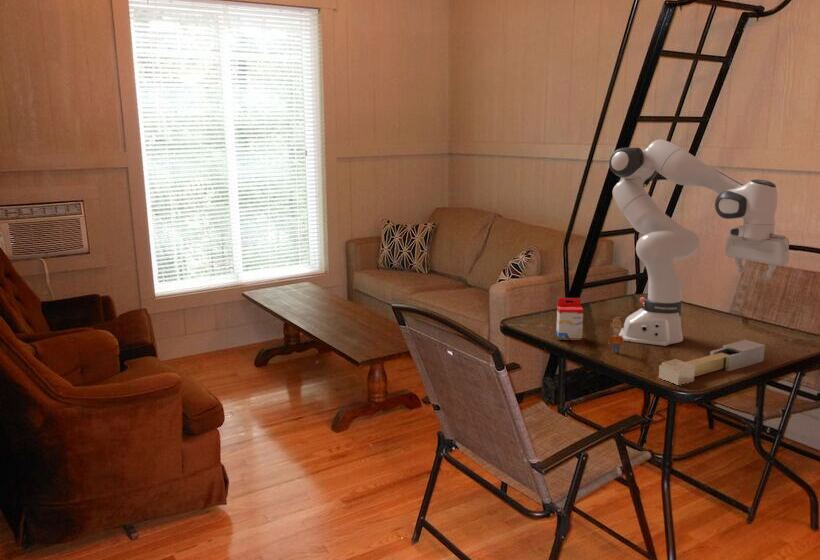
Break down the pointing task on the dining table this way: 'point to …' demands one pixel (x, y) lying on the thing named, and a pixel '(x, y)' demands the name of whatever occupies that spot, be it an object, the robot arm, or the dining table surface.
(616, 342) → the toy
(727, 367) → the sleeve and socket
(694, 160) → the robot arm
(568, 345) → the dining table surface
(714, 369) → the tan block
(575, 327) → the ink box
